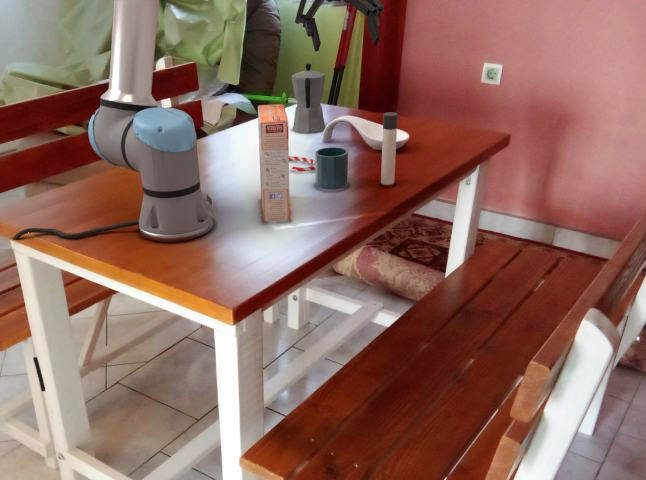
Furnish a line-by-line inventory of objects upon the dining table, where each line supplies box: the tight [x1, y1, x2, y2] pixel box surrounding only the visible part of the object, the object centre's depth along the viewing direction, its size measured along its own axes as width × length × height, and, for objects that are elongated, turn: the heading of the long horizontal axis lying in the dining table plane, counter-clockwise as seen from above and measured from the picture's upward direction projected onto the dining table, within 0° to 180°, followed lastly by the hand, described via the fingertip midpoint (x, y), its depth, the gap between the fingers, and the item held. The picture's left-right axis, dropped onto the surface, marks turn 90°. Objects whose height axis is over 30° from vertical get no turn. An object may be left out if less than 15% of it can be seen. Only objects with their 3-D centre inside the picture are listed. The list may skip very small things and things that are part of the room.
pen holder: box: [314, 146, 349, 190], centre depth 163 cm, size 7×7×8 cm
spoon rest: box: [321, 115, 410, 151], centre depth 188 cm, size 24×12×7 cm, turn 59°
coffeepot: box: [291, 63, 326, 134], centre depth 201 cm, size 15×9×18 cm, turn 175°
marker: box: [380, 111, 399, 186], centre depth 160 cm, size 3×3×16 cm
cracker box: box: [257, 103, 291, 223], centre depth 149 cm, size 14×6×21 cm, turn 1°
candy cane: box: [289, 155, 315, 172], centre depth 179 cm, size 8×1×15 cm
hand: (347, 44), depth 157 cm, fingers open, 13 cm apart
